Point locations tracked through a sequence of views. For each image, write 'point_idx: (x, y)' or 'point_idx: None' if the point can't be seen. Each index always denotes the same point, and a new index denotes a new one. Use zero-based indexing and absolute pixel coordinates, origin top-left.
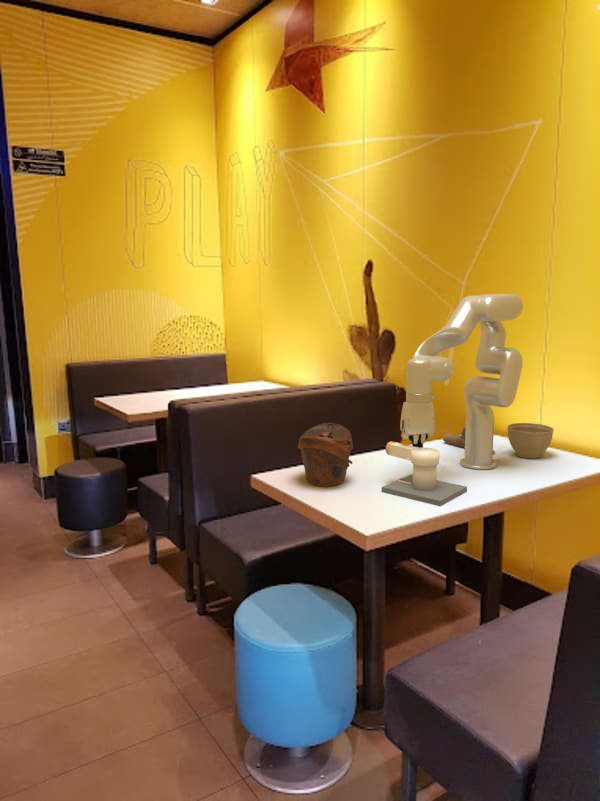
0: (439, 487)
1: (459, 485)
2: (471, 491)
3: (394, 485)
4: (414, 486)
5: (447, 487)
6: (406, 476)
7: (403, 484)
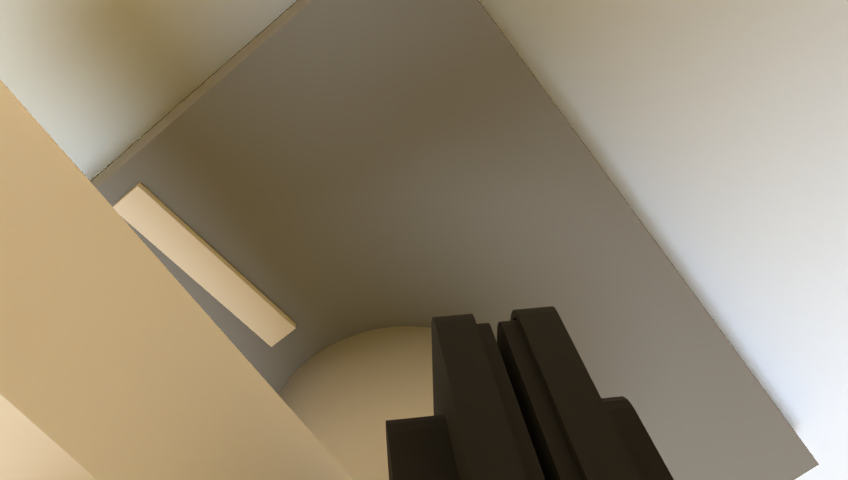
0: None
1: (776, 427)
2: (829, 433)
3: None
4: None
5: None
6: (315, 11)
7: None
